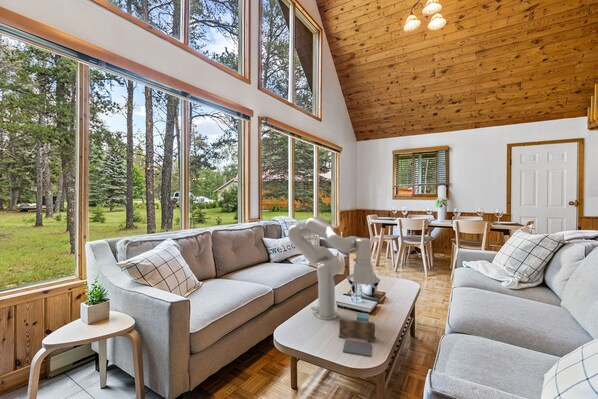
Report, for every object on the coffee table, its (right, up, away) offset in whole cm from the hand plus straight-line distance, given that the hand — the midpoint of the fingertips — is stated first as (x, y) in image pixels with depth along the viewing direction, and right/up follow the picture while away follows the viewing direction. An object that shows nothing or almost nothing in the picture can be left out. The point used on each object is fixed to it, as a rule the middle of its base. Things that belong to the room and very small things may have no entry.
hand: (363, 293), depth 147 cm
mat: (-7, -18, -20) cm, 28 cm away
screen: (-6, -18, -10) cm, 21 cm away
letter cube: (0, -18, +1) cm, 18 cm away
